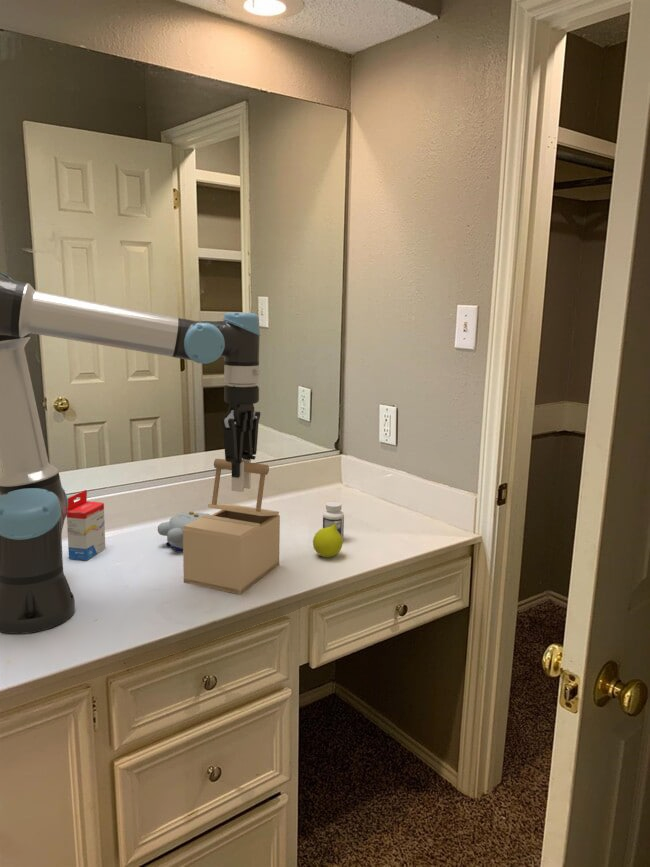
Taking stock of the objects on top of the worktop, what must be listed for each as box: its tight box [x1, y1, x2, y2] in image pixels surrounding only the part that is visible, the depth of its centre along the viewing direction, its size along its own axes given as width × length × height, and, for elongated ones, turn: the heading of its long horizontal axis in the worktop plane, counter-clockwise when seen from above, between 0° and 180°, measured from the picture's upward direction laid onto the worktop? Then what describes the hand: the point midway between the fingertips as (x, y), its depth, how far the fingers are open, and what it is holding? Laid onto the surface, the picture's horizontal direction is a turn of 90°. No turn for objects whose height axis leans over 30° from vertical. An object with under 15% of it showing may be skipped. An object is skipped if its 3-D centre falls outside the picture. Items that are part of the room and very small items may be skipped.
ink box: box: [66, 489, 106, 561], centre depth 155 cm, size 8×5×15 cm, turn 168°
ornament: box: [312, 521, 343, 558], centre depth 158 cm, size 7×7×10 cm
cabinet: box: [182, 509, 281, 595], centre depth 146 cm, size 18×14×13 cm
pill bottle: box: [322, 501, 345, 542], centre depth 169 cm, size 5×5×10 cm
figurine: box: [157, 511, 211, 553], centre depth 165 cm, size 17×8×20 cm
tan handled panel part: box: [207, 458, 280, 516], centre depth 149 cm, size 9×14×11 cm
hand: (241, 489), depth 147 cm, fingers open, 2 cm apart
